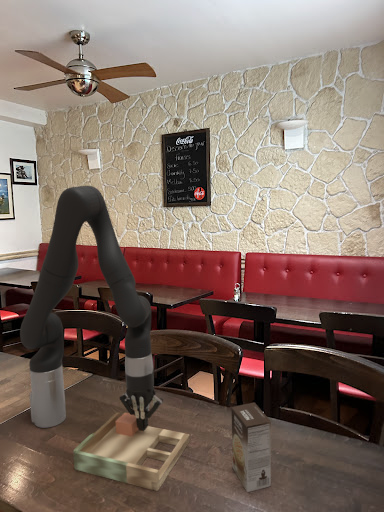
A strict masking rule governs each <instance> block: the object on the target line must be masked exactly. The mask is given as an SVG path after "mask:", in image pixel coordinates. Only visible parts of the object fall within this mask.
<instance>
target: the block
mask: <svg viewBox="0 0 384 512" xmlns="http://www.w3.org/2000/svg"><path fill="white" fill-rule="evenodd" d="M115 422H116V433H117V434H122V435H127V436H131V437H132V436H133V435H134V434H135V433H136V431H137V430H138V428H137V420H136V417H135V415H130V413H129V412H124V413H123V414H121V415H120V418H119V419H118V420H117V421H115Z"/></svg>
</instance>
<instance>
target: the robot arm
mask: <svg viewBox="0 0 384 512" xmlns="http://www.w3.org/2000/svg"><path fill="white" fill-rule="evenodd" d="M86 222H87V224H88V225H89V227H90V229H91V231H92V233H93V236H94V239H95V243H96V250H97V262H98V265H99V269H100V271H101V274H102V276H103V278H104V280H105V282H106V284H107V286H108V287H109V290H110V291H111V294H112V299H113V302H114V306H115V308H116V312H117V315H118V317H119V319H120V320H121V321H122V322H123V324H124V325H126V329H127V330H126V333H125V336H124V354H125V355H124V357H125V359H124V360H125V361H124V367H125V368H124V369H125V384H126V385H125V386H126V390H125V392H124V393H123V394H121V395H120V396H119V400H120V402H121V403H122V405H123V406H124V409H126V411H127V413H130V415H135V417H136V420H137V428H138V429H139V430H140V431H144V430H145V429H146V428H147V427H148V426H149V419H150V418H151V417H152V415H154V413H156V411H157V410H158V409H159V407H160V406H161V405H162V404H163V402H164V399H163V398H161V397H158V396H157V395H156V391H155V379H154V375H155V374H154V362H153V361H154V359H153V356H152V354H153V353H152V342H151V328H152V327H151V326H152V307H151V303H150V302H149V300H148V298H146V297H145V296H142V295H139V294H138V292H137V289H136V279H135V276H134V274H133V272H132V271H131V268H130V266H129V264H128V262H127V260H126V258H125V256H124V253H123V252H122V248H121V246H120V244H119V240H118V239H117V235H116V232H115V230H114V225H113V223H112V220H111V216H110V213H109V210H108V207H107V204H106V201H105V198H104V196H103V194H102V192H101V191H100V190H99V189H98V188H96V186H93V185H82V186H81V185H80V186H71V187H68V188H66V189H64V190H63V191H62V193H61V194H60V195H59V197H58V200H57V203H56V207H55V215H54V221H53V226H52V232H51V235H50V239H49V242H48V247H47V250H46V253H45V256H44V259H43V262H42V266H41V269H40V273H39V276H38V279H37V284H36V287H35V290H34V293H33V295H32V299H31V302H30V304H29V306H28V309H27V311H26V313H25V316H24V317H23V320H22V322H21V326H20V329H19V336H20V342H21V344H22V345H23V346H24V348H26V349H28V350H35V349H37V350H38V349H39V350H38V351H37V352H36V353H35V354H34V355H33V356H32V357H31V358H30V360H29V363H28V364H29V375H30V386H31V391H30V392H29V404H30V405H29V406H30V407H29V408H30V418H31V423H33V424H34V426H36V427H38V428H42V429H45V428H46V429H47V428H51V427H56V426H58V425H60V424H62V423H63V422H64V421H65V420H66V418H67V412H66V399H65V398H66V397H65V384H64V383H65V382H64V372H63V371H64V370H63V358H64V353H65V352H64V350H65V349H64V327H63V323H62V320H61V318H60V316H59V315H57V314H56V313H54V312H53V311H54V309H55V308H56V307H57V306H58V305H59V303H60V302H61V301H62V300H63V298H65V296H66V295H67V294H68V293H69V292H70V290H71V289H72V286H73V284H74V281H75V279H76V275H77V273H78V269H79V257H78V253H77V252H78V251H77V243H78V238H79V235H80V233H81V232H80V231H81V230H82V227H83V226H84V223H86ZM151 402H152V407H151V408H150V404H151ZM149 408H150V409H149Z"/></svg>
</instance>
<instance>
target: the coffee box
mask: <svg viewBox="0 0 384 512" xmlns="http://www.w3.org/2000/svg"><path fill="white" fill-rule="evenodd" d="M231 447H232V450H231V451H232V455H231V458H232V459H231V460H232V461H231V463H232V468H233V470H234V472H235V474H236V476H237V477H238V479H239V480H240V483H241V485H242V486H243V488H244V490H245V491H246V492H247V493H250V492H254V491H257V490H261V489H265V488H269V487H271V486H272V421H271V420H270V419H269V417H268V416H267V415H266V414H265V413H264V412H263V410H262V409H261V408H260V407H259V405H258V404H256V402H250V403H249V402H248V403H245V404H240V405H236V406H232V407H231Z"/></svg>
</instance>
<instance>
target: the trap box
mask: <svg viewBox="0 0 384 512" xmlns="http://www.w3.org/2000/svg"><path fill="white" fill-rule="evenodd" d="M120 417H121V412H119V411H118V412H117V411H116V412H115V413H114V414H113V415H112V416H110V418H109V419H107V421H106V422H104V424H103V425H101V426H100V427H99V428H98V429H97V430H96V431H95V432H93V433H90V435H88V436H87V437H86V438H85V439H84V440H83V441H82V442H81V443H79V444H78V445H77V446H76V447H75V448H74V449H73V465H74V466H73V467H74V470H76V471H80V472H84V473H87V474H92V475H93V476H99V477H103V478H107V479H111V480H114V481H118V482H122V483H125V484H130V485H134V486H137V487H141V488H144V489H148V490H152V491H155V492H158V491H159V490H160V488H161V487H162V485H163V484H164V482H165V481H166V479H167V478H168V477H169V474H170V473H171V471H172V470H173V468H174V466H175V464H176V463H177V461H179V459H180V457H181V455H182V454H183V453H184V451H185V450H186V448H187V446H188V445H189V443H190V441H191V439H190V438H191V437H190V436H191V435H190V434H189V433H184V432H180V431H174V430H170V429H164V428H159V427H153V426H150V425H148V427H147V428H146V429H145V430H144V431H140V430H139V429H138V430H137V431H136V433H135V434H134V435H133V436H132V437H131V436H127V435H122V434H117V433H116V422H115V421H117V420H118V419H119V418H120ZM159 443H163V444H168V445H173V446H175V447H174V448H173V450H172V451H171V452H169V451H165V450H160V449H155V448H156V447H157V444H159ZM147 458H149V459H152V460H157V461H161V462H164V463H163V464H162V466H161V467H160V468H159V469H157V468H156V469H155V468H153V467H152V468H151V467H148V466H143V463H144V462H145V461H146V459H147Z"/></svg>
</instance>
